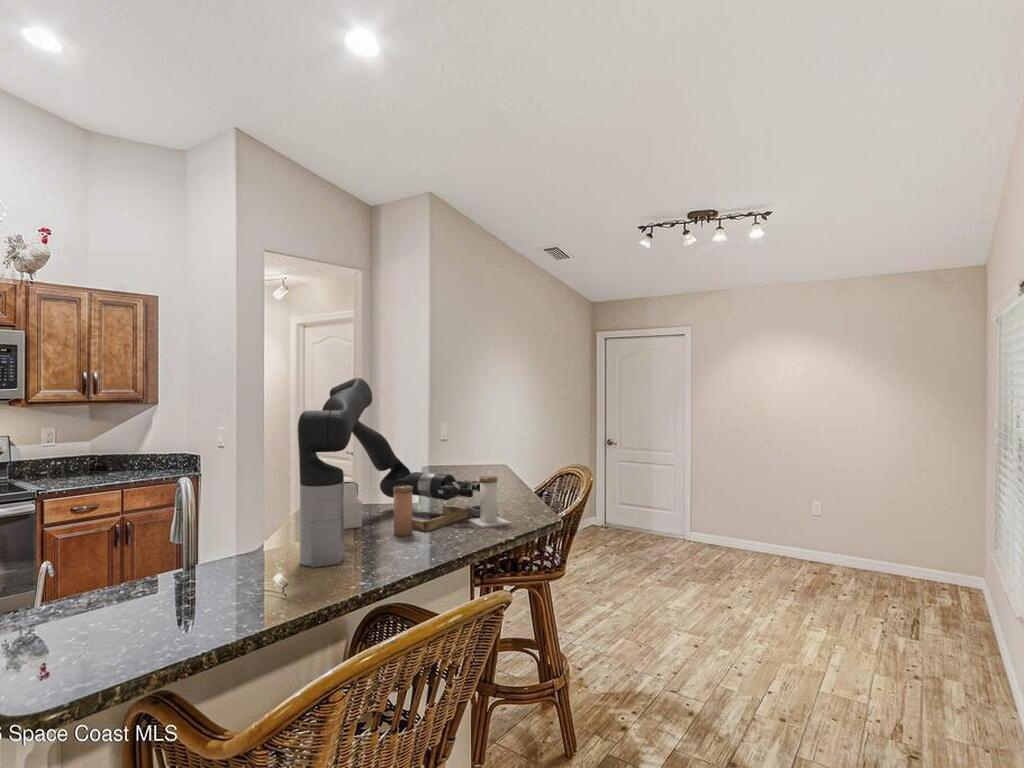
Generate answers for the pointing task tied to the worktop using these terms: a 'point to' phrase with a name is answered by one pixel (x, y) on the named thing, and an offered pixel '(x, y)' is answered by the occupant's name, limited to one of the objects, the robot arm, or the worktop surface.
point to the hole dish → (474, 510)
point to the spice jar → (488, 499)
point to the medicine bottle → (352, 506)
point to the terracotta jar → (403, 510)
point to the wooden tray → (442, 518)
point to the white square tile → (489, 524)
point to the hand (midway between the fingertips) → (481, 491)
